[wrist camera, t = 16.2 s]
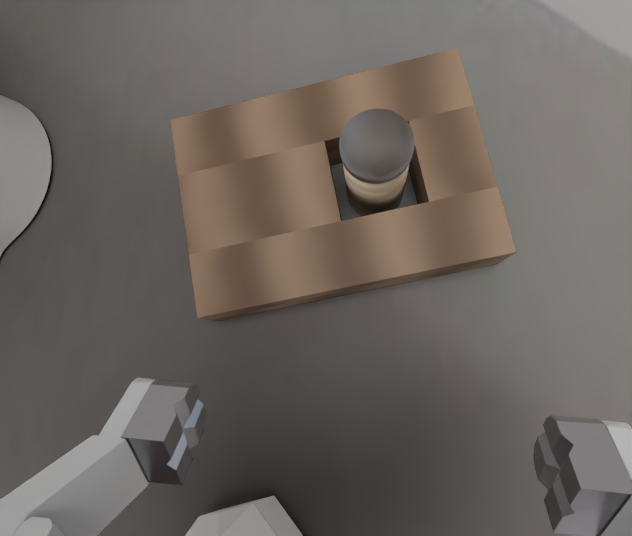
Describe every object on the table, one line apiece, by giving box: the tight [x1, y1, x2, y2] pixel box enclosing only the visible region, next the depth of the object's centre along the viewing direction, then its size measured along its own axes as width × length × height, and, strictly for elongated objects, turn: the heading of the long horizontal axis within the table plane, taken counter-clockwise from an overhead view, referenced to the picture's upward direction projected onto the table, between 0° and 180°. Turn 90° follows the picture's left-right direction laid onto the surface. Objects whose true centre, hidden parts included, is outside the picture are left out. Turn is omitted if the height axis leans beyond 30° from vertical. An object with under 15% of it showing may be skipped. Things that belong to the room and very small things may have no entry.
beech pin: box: [339, 108, 415, 216], centre depth 27 cm, size 4×4×8 cm
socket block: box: [170, 48, 516, 321], centre depth 30 cm, size 20×14×4 cm
